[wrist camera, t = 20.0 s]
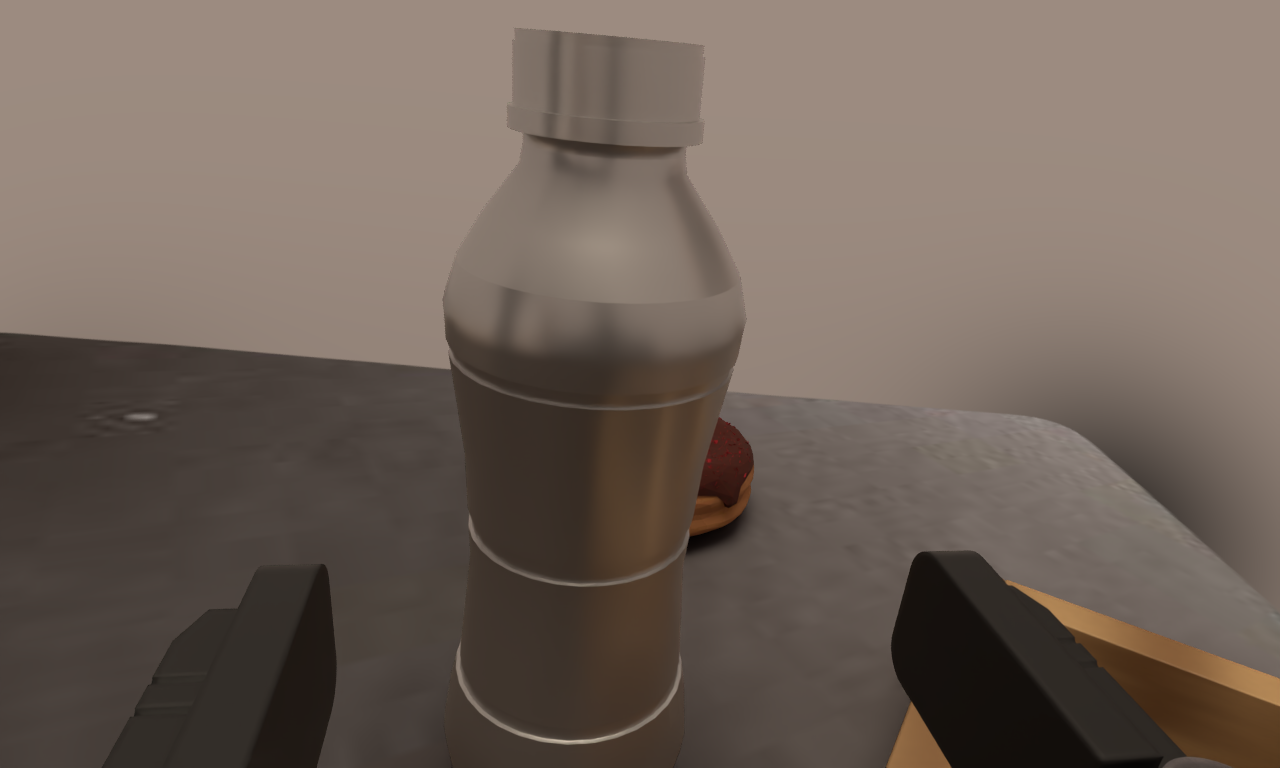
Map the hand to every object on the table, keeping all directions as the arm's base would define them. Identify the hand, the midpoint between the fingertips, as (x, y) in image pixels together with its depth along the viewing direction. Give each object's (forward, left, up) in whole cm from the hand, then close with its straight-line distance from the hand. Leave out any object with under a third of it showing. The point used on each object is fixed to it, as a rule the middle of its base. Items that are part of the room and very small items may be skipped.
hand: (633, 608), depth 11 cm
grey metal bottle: (-5, +6, -13) cm, 15 cm away
